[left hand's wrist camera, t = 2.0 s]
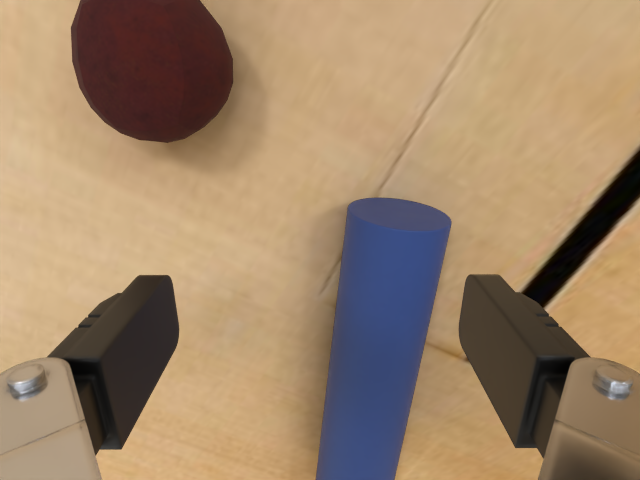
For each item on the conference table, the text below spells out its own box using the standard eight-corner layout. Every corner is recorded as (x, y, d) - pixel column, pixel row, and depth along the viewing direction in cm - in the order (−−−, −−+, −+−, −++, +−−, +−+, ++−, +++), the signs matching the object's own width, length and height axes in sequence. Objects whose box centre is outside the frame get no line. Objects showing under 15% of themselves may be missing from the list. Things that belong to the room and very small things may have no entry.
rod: (345, 193, 27) (351, 225, 21) (436, 201, 27) (466, 235, 21) (315, 455, 36) (314, 526, 30) (383, 460, 36) (395, 531, 30)
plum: (131, 134, 25) (64, 155, 19) (102, -10, 22) (11, -45, 16) (249, 131, 25) (223, 150, 18) (235, -15, 22) (199, -52, 16)
